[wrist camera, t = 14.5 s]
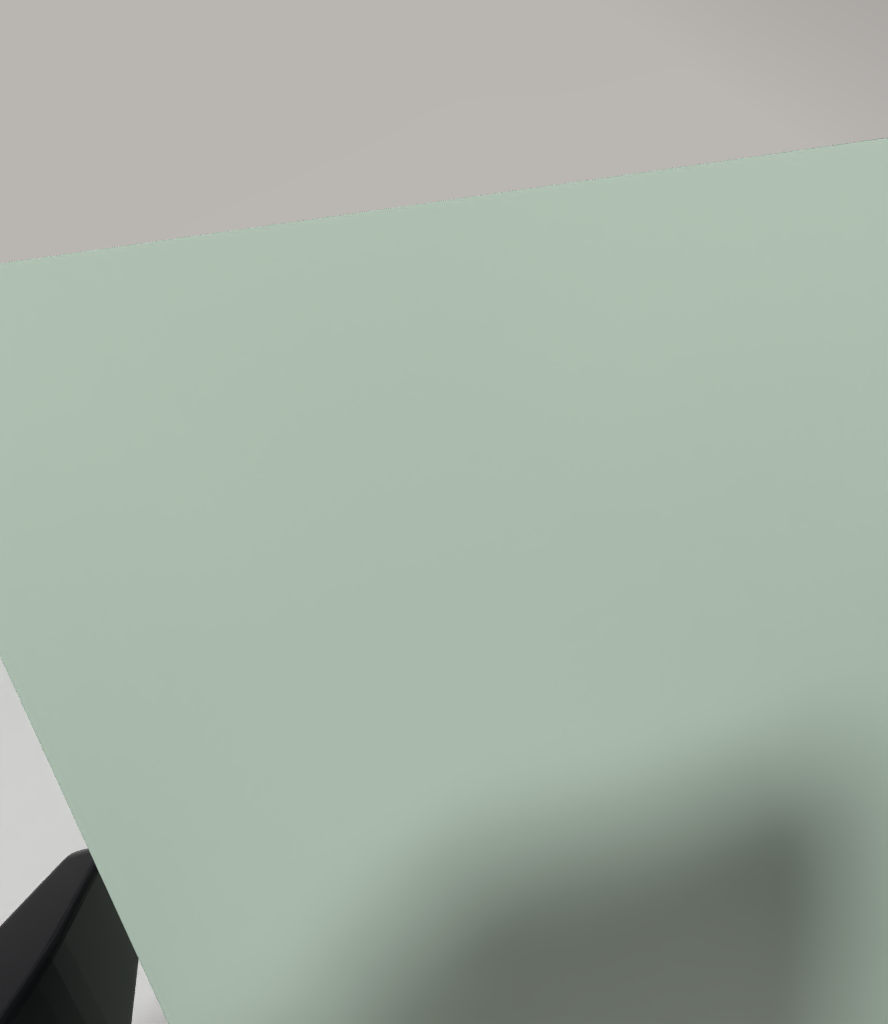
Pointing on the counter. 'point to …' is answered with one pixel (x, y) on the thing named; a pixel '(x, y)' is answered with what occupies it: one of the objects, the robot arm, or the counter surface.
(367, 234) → the sage green rectangular block
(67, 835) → the counter surface
